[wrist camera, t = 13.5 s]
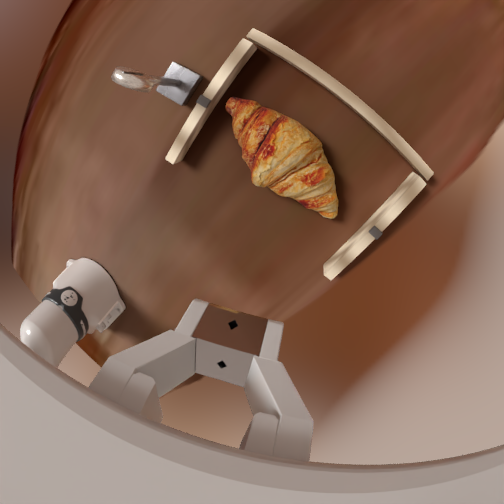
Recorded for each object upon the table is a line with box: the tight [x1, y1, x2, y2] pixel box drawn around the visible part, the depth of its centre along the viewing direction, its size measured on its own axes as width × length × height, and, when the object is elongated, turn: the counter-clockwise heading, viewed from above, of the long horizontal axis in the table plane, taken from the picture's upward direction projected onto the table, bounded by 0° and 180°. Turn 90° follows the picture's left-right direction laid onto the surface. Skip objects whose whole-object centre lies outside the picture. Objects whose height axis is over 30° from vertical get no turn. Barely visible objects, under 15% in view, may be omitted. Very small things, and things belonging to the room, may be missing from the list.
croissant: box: [226, 97, 339, 219], centre depth 33 cm, size 21×10×8 cm
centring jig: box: [165, 28, 434, 280], centre depth 33 cm, size 22×30×4 cm
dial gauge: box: [111, 62, 203, 105], centre depth 27 cm, size 5×5×14 cm
